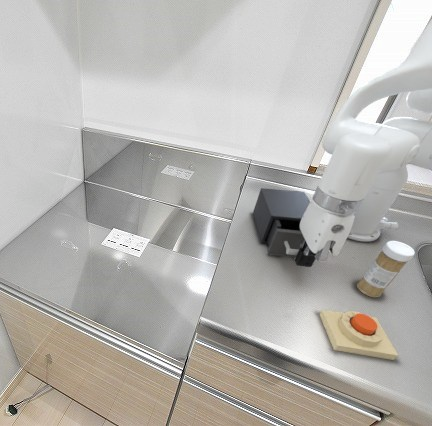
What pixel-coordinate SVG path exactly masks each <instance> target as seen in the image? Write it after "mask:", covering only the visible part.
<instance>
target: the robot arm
mask: <svg viewBox="0 0 432 426" xmlns="http://www.w3.org/2000/svg"><path fill="white" fill-rule="evenodd" d="M405 93H408V94H407V96H406V99H405V105H406V107H407V108H408V109H410V110H412V111H414V112H418V113H423V114H426V115H432V18H431V19H430V20H429V22H428V23H427V24H426V26H425V27H424V29H423V30H422V32H421V34H420V35H419V37H418V38H417V40H416V41H415V42H414V44H413V45H412V47H411V49H410V50H409V51H408V53H407V54H406V56H405V57H404V59H403V60H402V62H401V63H400V64H399V65H397V66H395V67H394V68H392V69H390V70H388V71H385V72H384V73H381V74H380V75H378V76H376V77H374V78H373V79H371V80H370V81H368V82H366V83H365V84H363V85H362V86H361V87H359V88H358V89H357V90H355V91H354V92H352V94H351V95H350V96H349V97H348V98H347V99H346V100H345V102H344V103H343V104H342V106H341V107H340V109H339V110H338V111H337V113H336V114H335V116H334V117H333V119H332V121H331V123H330V124H329V125H328V127H327V129H326V131H325V132H324V135H323V137H322V141H321V147H322V149H323V150H324V151H325V152H327V153H328V154H329V155H331V156H330V158H329V161H328V163H327V165H326V167H325V169H324V171H323V174H322V176H321V178H320V180H319V182H318V185H317V186H316V188H315V191H314V193H313V195H312V198H311V200H310V204H309V205H308V207H307V209H306V211H305V213H304V215H303V217H302V219H301V222H300V230H301V232H302V234H303V239H302V242H301V244H300V247H301V248H300V249H299V251H298V253H297V255H296V257H294V259H293V260H294V262H295V265H296V266H298V267H305V268H312V266H313V265H314V262H315V261H317V262H323V263H325V262H326V260H327V257H328V255H329V252H330V254H331V255H332V256H334V257H337V256H338V255H339V254H340V252H341V251H342V248H343V247H344V245H345V243H346V242H347V239H349V240H353V241H356V242H364V243H365V242H374V241H376V240H377V239H378V238H379V237H380V235H381V230H384V229H387V230H398V229H399V222H391V221H389V219H388V217H386V214H387V212H388V211H389V210H390V208H391V207H392V205H393V203H394V202H395V201H396V199H397V198H398V196H399V195H400V194H401V192H402V191H403V189H404V188H405V186H406V184H407V183H408V179H409V173H408V172H409V171H408V167H407V165H412V166H415V167H418V168H422V169H425V170H428V171H432V121H430V120H425V119H421V118H414V117H408V116H397V117H392V118H389V119H386V120H385V121H383V122H382V123H376V122H372V121H367V120H363V119H359V118H357V117H358V116H359V115H360V113H361V112H362V111H364V109H365V108H367V107H368V106H370V105H371V104H373V103H375V102H377V101H380V100H382V99H385V98H388V97H391V96H395V95H401V94H405Z"/></svg>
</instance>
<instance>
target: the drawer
mask: <svg viewBox="0 0 432 426" xmlns="http://www.w3.org/2000/svg"><path fill="white" fill-rule="evenodd" d="M300 222H301V221H294V220H284V219H273V222H272V224H271V227H270V229H269V232H268V234H267V237H266V238H267V242H268V244H267V245H268V248H267V254H268V255H270V256H279V257H280V256H281V257H288V258H295V257H296V255H297V253H298V251H299V249H300V248H301V247H300V244H301V242H302V239H303V234H302V232H301V230H300Z"/></svg>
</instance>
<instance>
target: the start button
mask: <svg viewBox="0 0 432 426" xmlns="http://www.w3.org/2000/svg"><path fill="white" fill-rule="evenodd" d="M371 317H372V316H369V315H367V314H365V313H362V314H356V315H355V316H354V317H353V318H352V320H351V322H350V323H351V326H352V327H353V328H354V329H355V330H356V331H357V332H359V333H361V334H363V335H372V334H373V333H374V332H375V330H376V329H377V327H378V326H377V323H376V322H375V321H374V320H373V319H372V318H371Z"/></svg>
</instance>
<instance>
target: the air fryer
mask: <svg viewBox="0 0 432 426" xmlns="http://www.w3.org/2000/svg"><path fill="white" fill-rule="evenodd" d="M307 195H308V194H306V192H305V191H301V190H300V191H298V190H288V189H275V188H264V187H263V188H262V187H261V188H260V190H259V193H258V196H257V200H256V202H255V205H254V208H253V212H252V218H253V221H254V224H255V228H256V231H257V235H258V239H259V242H260V244H262V245H268V242H267V238H266V237H267V234H268V232H269V229H270V227H271V224H272V222H273V219H284V220H294V221H301V219H302V217H303V215H304V213H305V211H306V209H307V207H308V205H309V204H310V202H311V200H310V199H309V197H308V196H307Z"/></svg>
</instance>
